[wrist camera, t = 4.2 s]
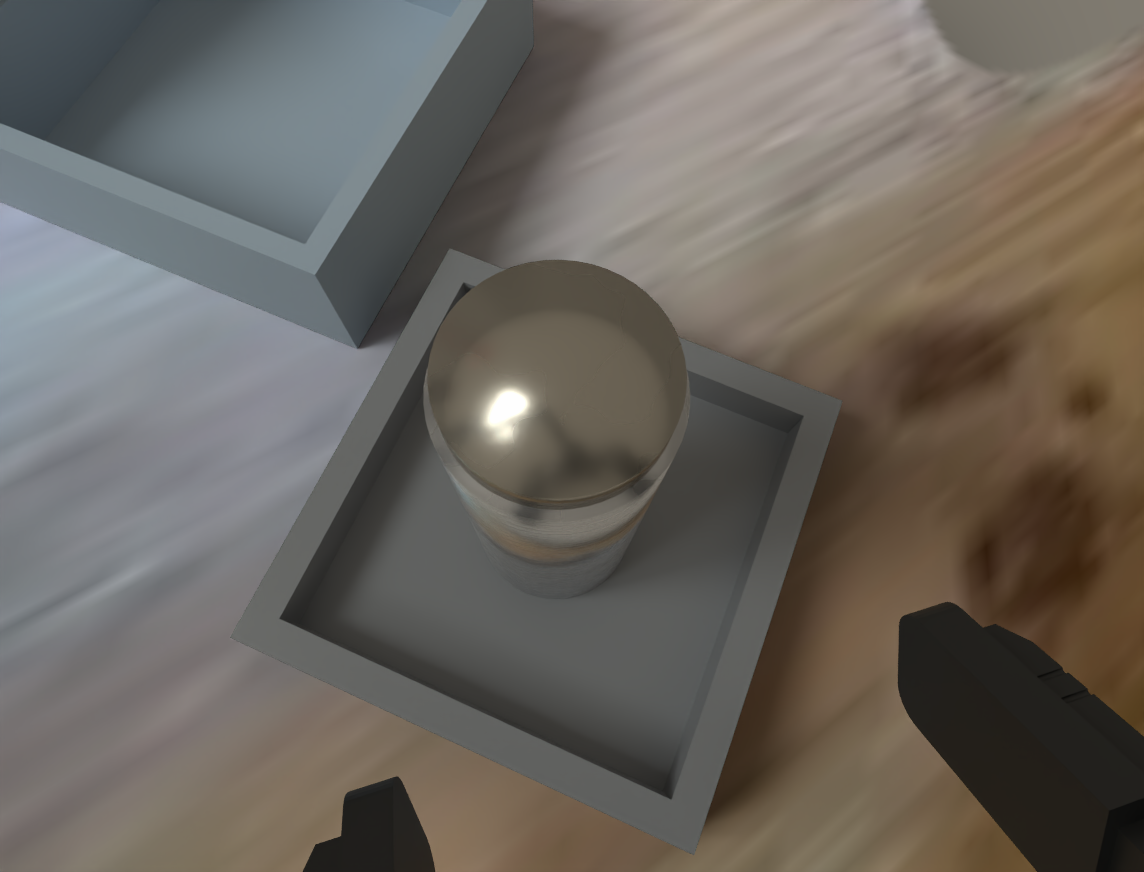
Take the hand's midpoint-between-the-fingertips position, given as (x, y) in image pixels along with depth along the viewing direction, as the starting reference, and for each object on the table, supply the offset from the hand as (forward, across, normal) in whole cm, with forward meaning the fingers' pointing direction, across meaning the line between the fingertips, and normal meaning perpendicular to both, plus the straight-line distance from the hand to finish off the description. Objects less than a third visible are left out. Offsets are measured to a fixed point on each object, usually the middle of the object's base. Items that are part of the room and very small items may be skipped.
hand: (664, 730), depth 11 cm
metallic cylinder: (+12, 0, +4) cm, 13 cm away
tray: (+13, 0, +4) cm, 14 cm away
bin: (+26, +6, -9) cm, 29 cm away
